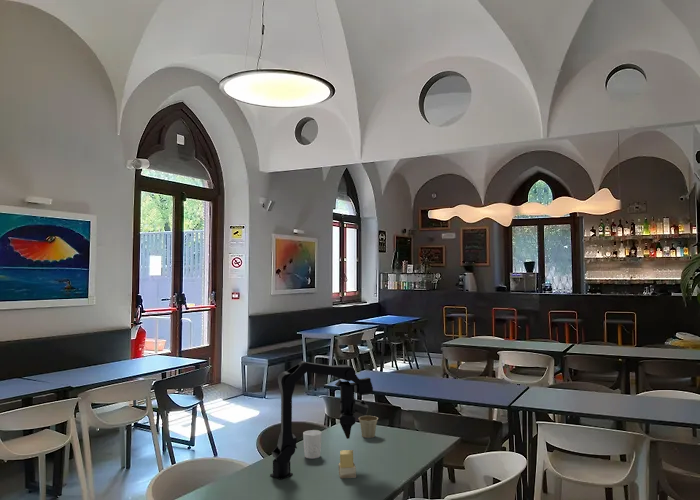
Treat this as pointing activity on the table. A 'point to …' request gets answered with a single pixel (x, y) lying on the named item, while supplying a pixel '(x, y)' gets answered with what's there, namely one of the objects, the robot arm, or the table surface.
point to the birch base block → (347, 472)
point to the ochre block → (346, 458)
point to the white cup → (312, 443)
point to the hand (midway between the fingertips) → (348, 435)
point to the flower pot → (368, 426)
